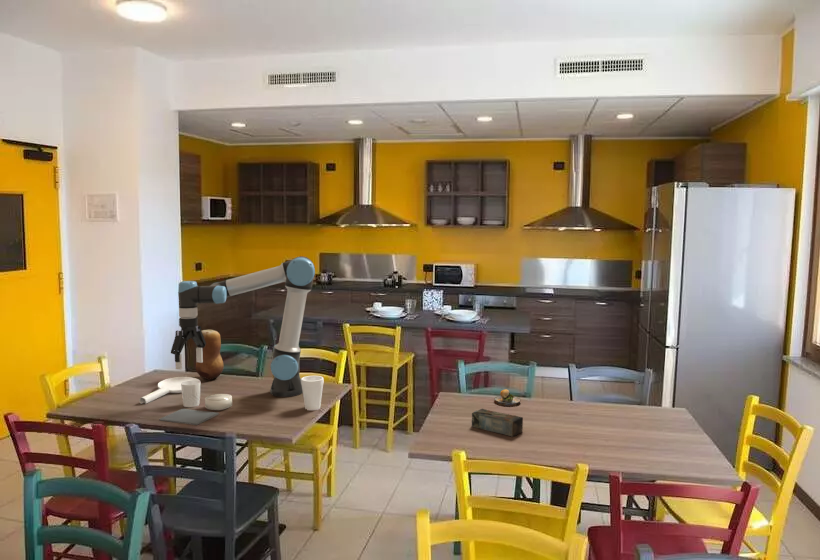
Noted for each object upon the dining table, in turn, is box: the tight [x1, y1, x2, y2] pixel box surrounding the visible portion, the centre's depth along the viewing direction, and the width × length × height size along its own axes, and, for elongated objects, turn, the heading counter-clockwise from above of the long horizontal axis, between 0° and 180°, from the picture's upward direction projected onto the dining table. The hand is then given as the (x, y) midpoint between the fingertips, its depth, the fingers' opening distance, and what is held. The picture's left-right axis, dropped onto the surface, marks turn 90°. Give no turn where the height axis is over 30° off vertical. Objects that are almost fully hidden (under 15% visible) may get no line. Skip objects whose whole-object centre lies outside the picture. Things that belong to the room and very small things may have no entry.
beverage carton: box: [471, 408, 524, 437], centre depth 229 cm, size 8×19×6 cm, turn 51°
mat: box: [159, 408, 220, 426], centre depth 242 cm, size 18×14×1 cm
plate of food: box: [493, 389, 521, 407], centre depth 263 cm, size 12×12×8 cm
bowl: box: [204, 393, 233, 411], centre depth 254 cm, size 11×11×5 cm
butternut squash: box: [195, 329, 225, 381], centre depth 302 cm, size 14×13×25 cm
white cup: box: [181, 380, 201, 408], centre depth 258 cm, size 8×8×10 cm
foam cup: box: [300, 375, 325, 411], centre depth 254 cm, size 10×9×13 cm
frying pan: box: [139, 376, 202, 405], centre depth 276 cm, size 35×19×5 cm, turn 165°
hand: (189, 365), depth 257 cm, fingers open, 13 cm apart
